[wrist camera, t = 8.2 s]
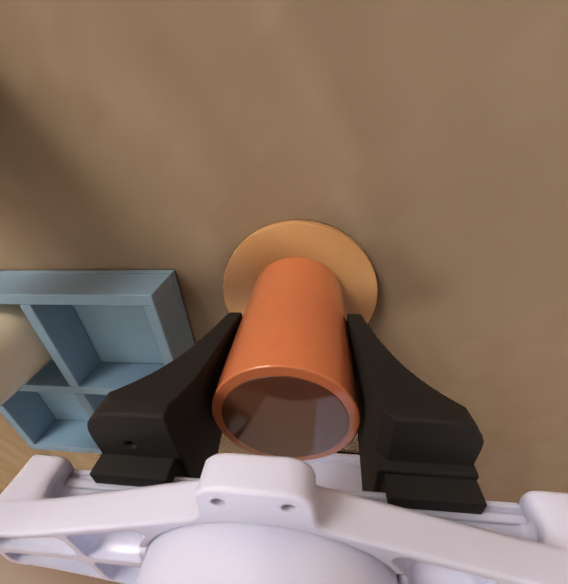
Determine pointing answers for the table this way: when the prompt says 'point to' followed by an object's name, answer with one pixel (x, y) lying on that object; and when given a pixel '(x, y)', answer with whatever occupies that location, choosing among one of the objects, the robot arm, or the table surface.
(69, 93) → the table surface
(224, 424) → the tumbler
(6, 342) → the cream tumbler
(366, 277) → the coaster
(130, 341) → the rack
